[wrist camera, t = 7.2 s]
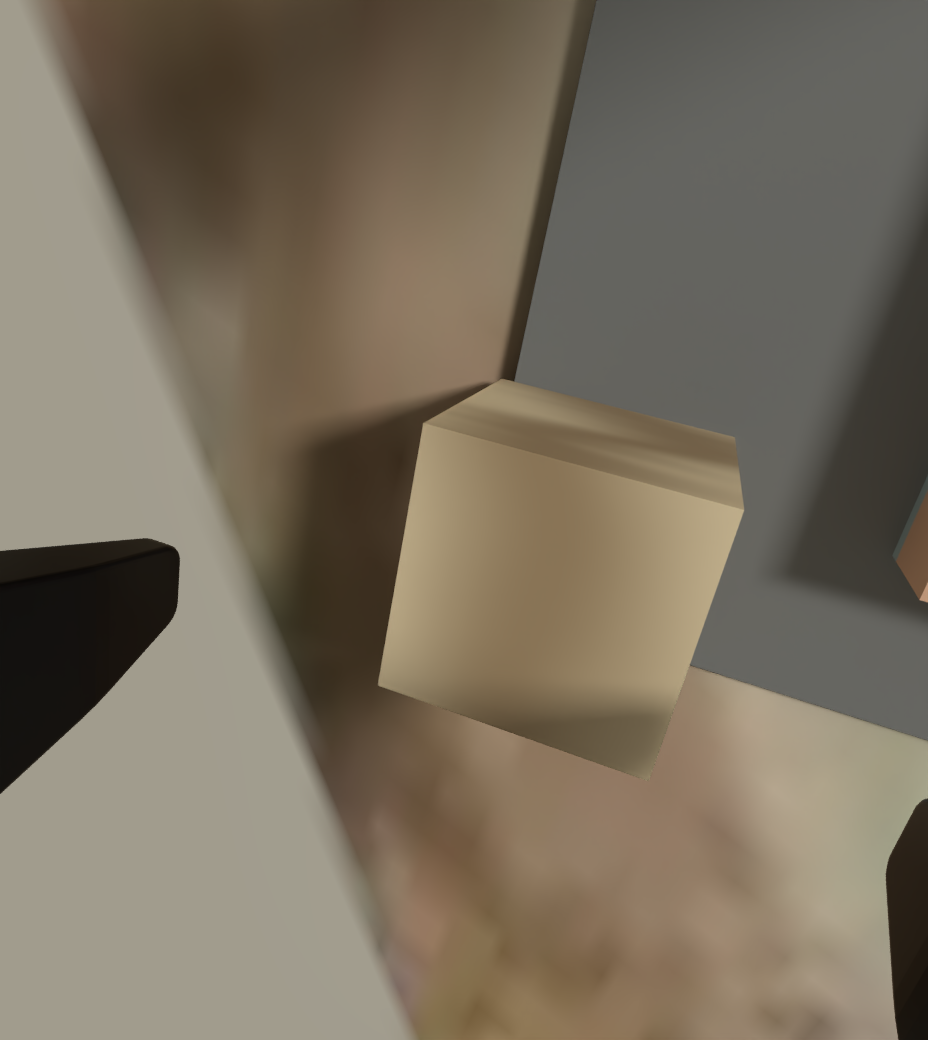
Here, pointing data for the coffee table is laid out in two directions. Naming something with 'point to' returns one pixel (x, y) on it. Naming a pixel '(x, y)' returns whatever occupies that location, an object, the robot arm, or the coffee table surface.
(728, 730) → the coffee table surface
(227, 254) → the coffee table surface
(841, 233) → the mat
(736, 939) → the coffee table surface
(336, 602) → the coffee table surface
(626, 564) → the cube
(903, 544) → the tile
